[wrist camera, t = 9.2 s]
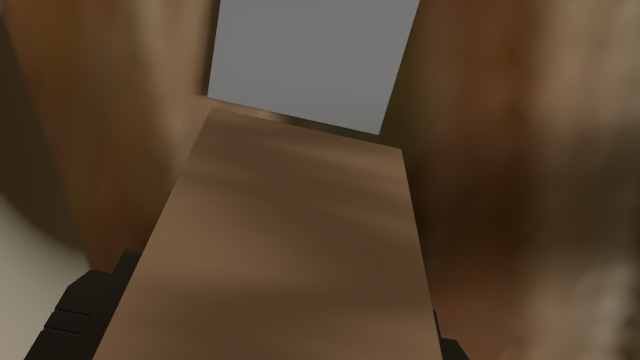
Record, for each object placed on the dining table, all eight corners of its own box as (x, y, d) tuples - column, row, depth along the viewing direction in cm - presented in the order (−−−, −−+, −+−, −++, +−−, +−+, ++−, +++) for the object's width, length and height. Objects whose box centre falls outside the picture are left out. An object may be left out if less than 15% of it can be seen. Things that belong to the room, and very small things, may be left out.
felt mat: (430, -45, 27) (432, -43, 26) (377, 129, 31) (378, 134, 31) (235, -94, 26) (233, -92, 26) (209, 92, 31) (207, 97, 30)
